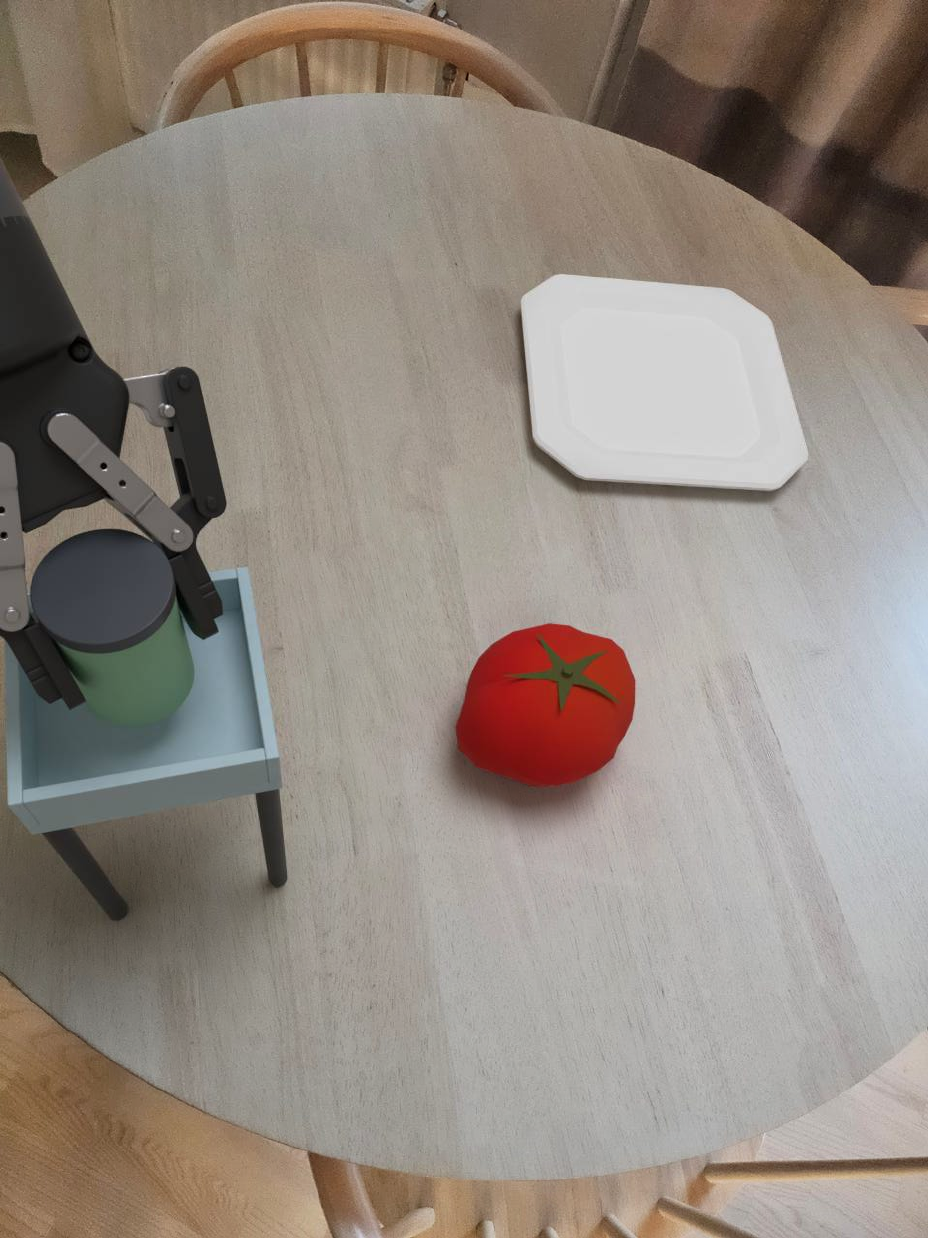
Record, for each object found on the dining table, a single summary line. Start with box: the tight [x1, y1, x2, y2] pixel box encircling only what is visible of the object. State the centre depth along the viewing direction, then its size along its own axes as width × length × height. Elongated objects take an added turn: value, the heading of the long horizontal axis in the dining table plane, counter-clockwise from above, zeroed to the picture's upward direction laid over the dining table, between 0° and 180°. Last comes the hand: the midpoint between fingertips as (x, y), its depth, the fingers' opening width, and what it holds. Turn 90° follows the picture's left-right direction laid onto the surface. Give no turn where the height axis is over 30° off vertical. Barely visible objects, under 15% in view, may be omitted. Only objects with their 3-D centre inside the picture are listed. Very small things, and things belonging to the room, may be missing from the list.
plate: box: [519, 273, 810, 492], centre depth 86 cm, size 25×25×2 cm
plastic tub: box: [29, 528, 195, 727], centre depth 39 cm, size 5×5×8 cm
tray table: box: [3, 566, 289, 922], centre depth 52 cm, size 11×10×22 cm
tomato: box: [455, 622, 637, 788], centre depth 64 cm, size 11×13×10 cm
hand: (142, 664), depth 39 cm, fingers closed on plastic tub, 5 cm apart
